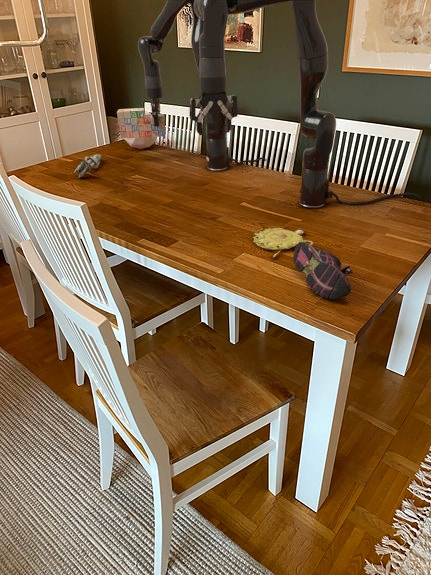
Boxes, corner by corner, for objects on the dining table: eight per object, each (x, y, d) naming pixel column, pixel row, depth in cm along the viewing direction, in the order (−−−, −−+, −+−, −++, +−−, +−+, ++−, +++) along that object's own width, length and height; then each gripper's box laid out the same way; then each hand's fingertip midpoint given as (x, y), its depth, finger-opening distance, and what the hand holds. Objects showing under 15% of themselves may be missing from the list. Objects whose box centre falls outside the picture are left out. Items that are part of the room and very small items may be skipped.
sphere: (134, 159, 245) (115, 127, 242) (165, 142, 247) (146, 110, 244) (133, 150, 226) (112, 115, 223) (166, 132, 228) (146, 97, 226)
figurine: (78, 158, 192) (99, 144, 218) (67, 172, 195) (90, 156, 221) (91, 170, 194) (110, 155, 220) (80, 183, 197) (101, 166, 224)
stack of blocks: (166, 133, 216) (163, 107, 209) (165, 137, 210) (162, 109, 204) (122, 135, 216) (118, 108, 209) (120, 138, 210) (116, 111, 204)
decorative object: (267, 219, 151) (324, 228, 141) (267, 226, 152) (323, 235, 143) (237, 243, 137) (298, 255, 127) (238, 250, 138) (298, 263, 128)
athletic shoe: (337, 289, 105) (377, 281, 109) (296, 226, 117) (333, 221, 121) (320, 316, 114) (357, 308, 118) (283, 255, 126) (318, 250, 130)
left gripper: (147, 84, 207) (151, 121, 216) (143, 89, 195) (147, 128, 204) (163, 83, 207) (166, 121, 216) (160, 88, 195) (164, 127, 204)
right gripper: (191, 77, 121) (194, 138, 129) (240, 74, 124) (240, 133, 133) (185, 74, 127) (188, 132, 136) (232, 71, 130) (232, 128, 139)
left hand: (157, 124), depth 210 cm, fingers closed on stack of blocks, 6 cm apart
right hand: (214, 133), depth 134 cm, fingers open, 8 cm apart
